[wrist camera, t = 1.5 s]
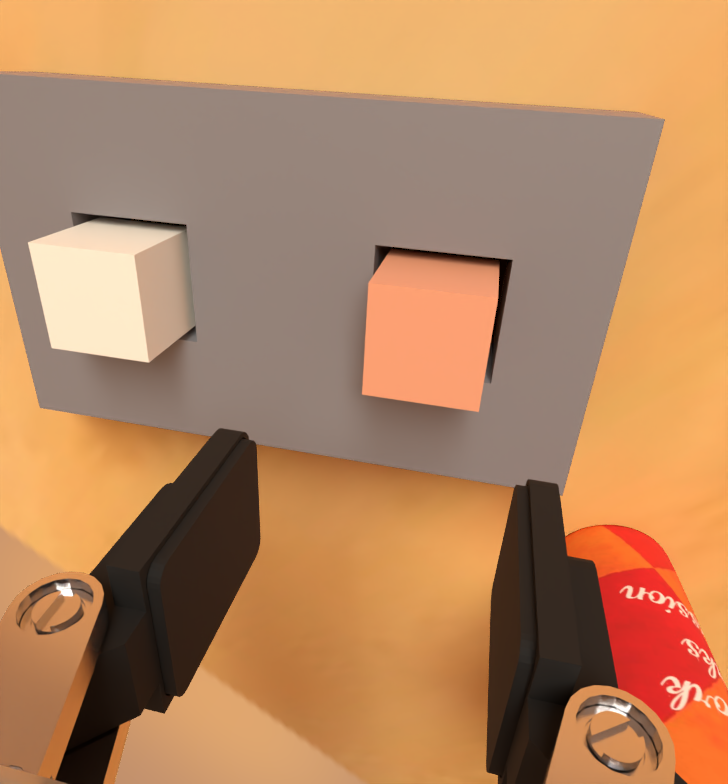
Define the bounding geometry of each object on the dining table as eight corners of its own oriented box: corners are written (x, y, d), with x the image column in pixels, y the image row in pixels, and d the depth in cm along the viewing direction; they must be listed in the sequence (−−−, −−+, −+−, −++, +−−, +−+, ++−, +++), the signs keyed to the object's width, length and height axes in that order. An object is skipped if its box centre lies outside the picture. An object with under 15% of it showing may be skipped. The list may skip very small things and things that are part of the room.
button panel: (555, 443, 27) (562, 495, 24) (91, 371, 31) (39, 407, 28) (638, 112, 21) (664, 119, 17) (33, 71, 24) (-44, 70, 21)
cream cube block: (200, 321, 25) (148, 362, 22) (115, 310, 26) (51, 348, 22) (192, 227, 23) (133, 254, 20) (100, 217, 24) (27, 242, 20)
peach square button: (482, 359, 23) (478, 412, 20) (383, 346, 24) (361, 394, 20) (499, 260, 21) (497, 298, 18) (391, 248, 22) (368, 282, 18)
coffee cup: (711, 614, 30) (866, 1017, 17) (551, 635, 33) (580, 992, 20) (674, 486, 27) (826, 857, 14) (501, 522, 30) (498, 855, 17)
